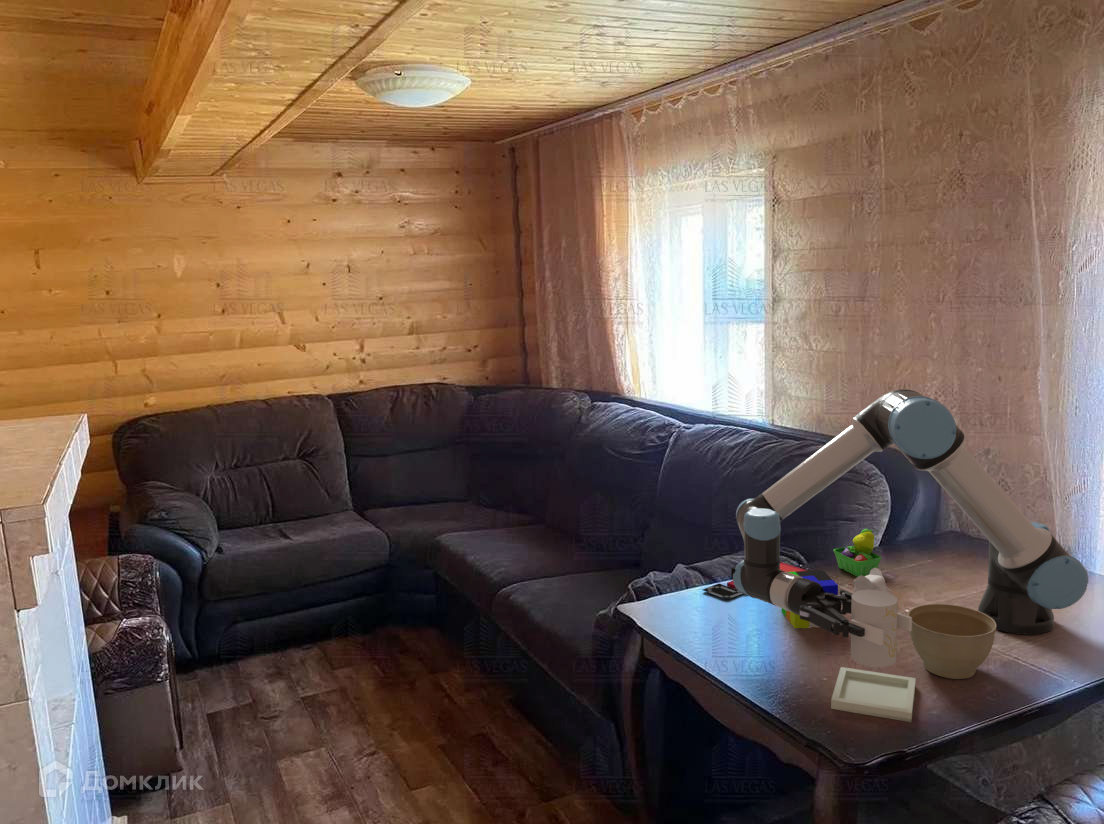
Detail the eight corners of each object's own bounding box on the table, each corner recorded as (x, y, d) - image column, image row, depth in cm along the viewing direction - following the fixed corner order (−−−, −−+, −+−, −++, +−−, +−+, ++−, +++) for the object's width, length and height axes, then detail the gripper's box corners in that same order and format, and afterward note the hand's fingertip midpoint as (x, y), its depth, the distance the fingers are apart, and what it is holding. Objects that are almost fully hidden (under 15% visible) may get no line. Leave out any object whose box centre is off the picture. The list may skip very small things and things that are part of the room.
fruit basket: (831, 566, 233) (831, 527, 231) (859, 561, 236) (859, 522, 234) (858, 580, 222) (858, 539, 220) (886, 575, 225) (887, 534, 223)
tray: (915, 686, 168) (915, 678, 167) (911, 722, 155) (911, 713, 155) (840, 675, 174) (840, 667, 173) (831, 708, 161) (831, 699, 161)
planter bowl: (1006, 689, 165) (1008, 637, 163) (917, 687, 168) (918, 635, 166) (979, 652, 180) (981, 603, 178) (899, 650, 183) (900, 602, 181)
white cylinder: (891, 670, 158) (893, 609, 156) (846, 661, 162) (847, 602, 160) (899, 652, 164) (901, 593, 162) (856, 644, 169) (856, 587, 167)
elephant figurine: (882, 609, 204) (882, 581, 203) (845, 599, 211) (845, 571, 210) (897, 600, 209) (898, 572, 208) (861, 590, 216) (861, 563, 215)
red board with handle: (696, 591, 222) (741, 608, 210) (696, 580, 221) (741, 598, 209) (770, 563, 239) (815, 578, 228) (770, 553, 239) (816, 568, 227)
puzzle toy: (837, 626, 196) (838, 585, 195) (794, 629, 196) (794, 588, 194) (822, 609, 206) (822, 569, 205) (781, 611, 206) (781, 572, 204)
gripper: (830, 599, 183) (928, 634, 164) (763, 626, 171) (860, 666, 153) (830, 565, 182) (929, 597, 163) (763, 590, 170) (861, 627, 152)
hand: (896, 630), depth 158 cm, fingers closed on white cylinder, 8 cm apart
